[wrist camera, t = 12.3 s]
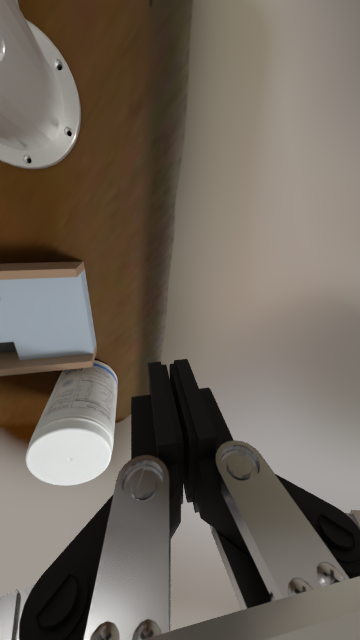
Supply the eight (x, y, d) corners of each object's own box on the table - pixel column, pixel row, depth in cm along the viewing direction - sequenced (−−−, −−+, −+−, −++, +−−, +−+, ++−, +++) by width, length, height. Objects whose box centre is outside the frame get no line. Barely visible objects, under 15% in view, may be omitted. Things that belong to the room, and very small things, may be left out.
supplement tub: (102, 409, 44) (90, 494, 30) (49, 392, 40) (9, 479, 27) (128, 369, 41) (126, 442, 28) (74, 347, 38) (43, 419, 25)
